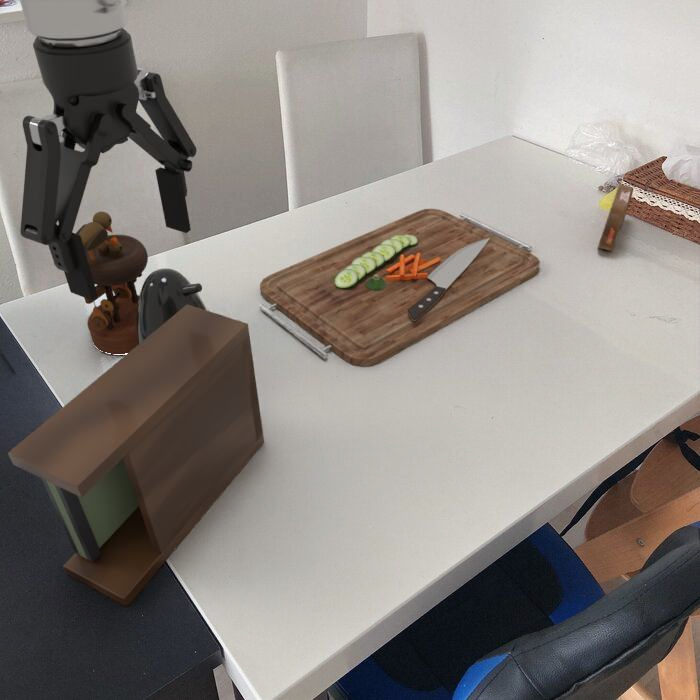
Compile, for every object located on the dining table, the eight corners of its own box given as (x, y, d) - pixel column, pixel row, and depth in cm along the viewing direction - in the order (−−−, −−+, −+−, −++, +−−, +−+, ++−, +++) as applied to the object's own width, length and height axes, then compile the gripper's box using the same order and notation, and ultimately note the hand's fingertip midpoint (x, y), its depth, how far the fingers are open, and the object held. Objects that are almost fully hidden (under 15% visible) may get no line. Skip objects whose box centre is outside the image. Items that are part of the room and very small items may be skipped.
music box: (150, 366, 94) (103, 238, 81) (77, 365, 96) (20, 240, 83) (186, 303, 106) (150, 183, 93) (121, 303, 107) (76, 185, 95)
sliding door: (75, 553, 68) (30, 456, 59) (147, 477, 76) (118, 381, 67) (93, 562, 68) (50, 465, 59) (164, 485, 75) (136, 388, 66)
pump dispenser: (197, 397, 89) (177, 302, 79) (130, 380, 92) (102, 286, 82) (234, 351, 96) (219, 258, 87) (171, 336, 99) (149, 245, 90)
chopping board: (441, 207, 129) (442, 192, 127) (556, 263, 113) (560, 247, 111) (240, 295, 107) (237, 278, 105) (348, 380, 91) (347, 362, 89)
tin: (607, 217, 125) (618, 174, 120) (625, 221, 124) (637, 177, 118) (594, 257, 114) (605, 211, 109) (613, 261, 113) (625, 215, 108)
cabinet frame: (66, 574, 69) (7, 452, 57) (210, 421, 85) (187, 304, 74) (127, 607, 66) (77, 486, 54) (264, 442, 82) (248, 323, 71)
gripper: (-19, 90, 44) (68, 340, 58) (214, 3, 61) (238, 213, 75) (-93, 71, 47) (6, 315, 61) (149, -8, 64) (184, 197, 77)
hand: (134, 259), depth 68 cm, fingers open, 13 cm apart
